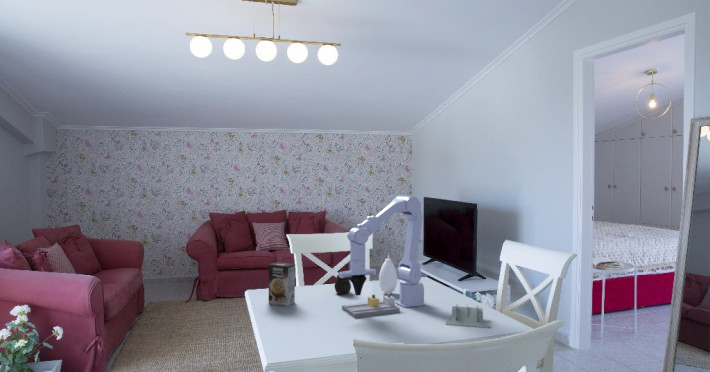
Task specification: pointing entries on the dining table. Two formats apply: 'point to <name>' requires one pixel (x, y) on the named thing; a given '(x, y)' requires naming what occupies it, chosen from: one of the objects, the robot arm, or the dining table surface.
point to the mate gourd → (342, 285)
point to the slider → (373, 301)
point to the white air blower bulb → (388, 276)
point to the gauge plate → (372, 308)
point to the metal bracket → (467, 317)
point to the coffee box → (281, 283)
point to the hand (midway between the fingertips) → (357, 294)
